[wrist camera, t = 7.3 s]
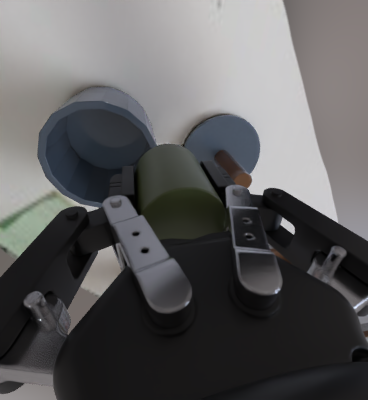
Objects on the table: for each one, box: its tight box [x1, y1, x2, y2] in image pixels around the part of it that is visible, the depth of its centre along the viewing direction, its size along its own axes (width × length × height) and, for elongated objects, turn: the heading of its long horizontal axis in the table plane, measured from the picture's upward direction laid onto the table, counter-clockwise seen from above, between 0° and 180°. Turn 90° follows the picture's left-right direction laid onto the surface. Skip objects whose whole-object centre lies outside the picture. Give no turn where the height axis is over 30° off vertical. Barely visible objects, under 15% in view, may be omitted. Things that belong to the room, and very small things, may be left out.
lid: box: [184, 115, 260, 188], centre depth 33 cm, size 13×13×9 cm
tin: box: [135, 144, 226, 240], centre depth 13 cm, size 4×4×6 cm
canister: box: [37, 87, 157, 208], centre depth 27 cm, size 12×12×10 cm
